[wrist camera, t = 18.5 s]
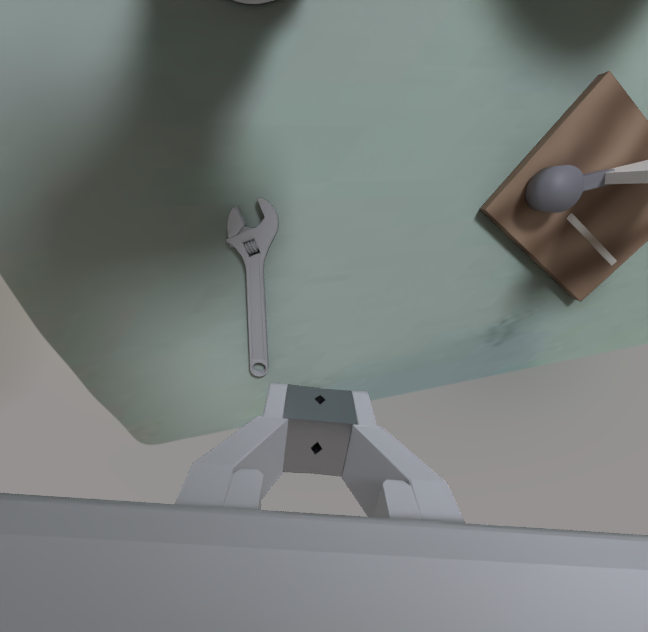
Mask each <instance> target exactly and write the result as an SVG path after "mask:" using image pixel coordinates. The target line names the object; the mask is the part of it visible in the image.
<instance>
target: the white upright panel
mask: <svg viewBox="0 0 648 632" xmlns="http://www.w3.org/2000/svg"><path fill="white" fill-rule="evenodd" d="M637 183H648V160H645V161H641V162H637V163H633V164H628V165H624V166H620V167H616V168H612V169H605V170H598V171H594V172H590V173H586V174H583V173H582V172H581V170H580V169H579V168H577V167H575V166H572V165H562V166H552V167H546V168H544V169H541V170H540V171H538V172H537V173H536V174H535V175H534V176H533V177H532V178H531V180H530V182H529V183H528V186H527V189H526V200H527V203H528V204H529V206H530V207H531V208H532V209H534V210H536V211H543V212H554V213H558V212H563V211H565V210H567V209H569V208H571V207H572V206H573V205H574V204H575V203H576V202H577V201H578V200H579V198H580V197H581V195H582V192H583V191H586V190H590V189H594V188H598V187H602V186H607V185H611V184H637Z"/></svg>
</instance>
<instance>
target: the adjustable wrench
mask: <svg viewBox="0 0 648 632" xmlns="http://www.w3.org/2000/svg"><path fill="white" fill-rule="evenodd" d="M257 200H258V203H259V205H260V207H261V210H262V212H263V214H264V217H265V218H264V219H263V220H262V222H261V223H260V225H259V226H258V227H255V228H249V227H246V226H245V224H246V223H245V221H244V219H243V216H242V214H241V212H240V210H239V208H238V207H234V208H232V210H231V212H230V214H229V217H228V222H227V231H228V237H229V238H228V239H226V241H227V242H228V243H229V245H230V247H231V248H233V247H235V248H236V249H237V251H238V252H239V253H240V255H241V256H242V258H243V260H244V262H245V266H246V277H247V303H248V328H249V353H250V371H251V373H252V374H253V375H255V376H258V377H261V376H264V375H265V374H266V373H267V371H268V366H269V364H268V344H267V324H266V304H265V284H264V261H265V257H266V255H267V252H268V249H269V247H270V244H271V242H272V240H273V238H274V237H275V235H276V233H277V230H278V225H279V219H278V215H277V212H276V210H275V209H274V207H273V206H272V205H271V204H270V202H269V201H267V200H265V199H264V198H257ZM252 240H253V241H252ZM249 241H250V242H249ZM246 242H248V243H246ZM258 249H259V251H260V252H259V253H256V254H254V255H250V254H252V253H255V251H256V252H258ZM255 363H262V364H264V365H265V369H264V370H263V371H258V370H256V369H255V368H254V365H255Z"/></svg>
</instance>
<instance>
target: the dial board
mask: <svg viewBox="0 0 648 632" xmlns="http://www.w3.org/2000/svg"><path fill="white" fill-rule="evenodd" d="M645 160H648V120H647V119H646V118H645V116H644V115H643V114H642V113H641V111H640V110H639V109H638V107H637V106H636V105H635V103H634V102H633V101H632V99H631V98H630V97H629V95H628V94H627V93H626V92H625V90H624V89H623V88H622V86H621V85H620V84H619V82H618V81H617V80H616V78H615V77H614V76H613V74H612V73H611V72H610V71H608V72H605V73H603V74H600V75H598V76H597V77H596V78H595V79H594V81H593V82H592V83H591V84H590V85H589V86H588V87H587V88H586V90H585V91H584V92H583V93H582V94H581V95H580V96H579V97H578V99H577V100H576V101H575V102H574V103H573V104H572V105H571V106H570V108H569V109H568V110H567V111H566V112H565V113H564V114H563V115H562V117H561V118H560V119H559V120H558V121H557V122H556V123H555V124H554V126H553V127H552V128H551V129H550V130H549V131H548V132H547V133H546V135H545V136H544V137H543V138H542V139H541V140H540V141H539V142H538V144H537V145H536V146H535V147H534V148H533V149H532V150H531V151H530V153H529V154H528V155H527V156H526V157H525V158H524V159H523V160H522V162H521V163H520V164H519V165H518V166H517V167H516V168H515V169H514V171H513V172H512V173H511V174H510V175H509V176H508V177H507V178H506V180H505V181H504V182H503V183H502V184H501V185H500V186H499V187H498V189H497V190H496V191H495V192H494V193H493V194H492V195H491V196H490V198H489V199H488V200H487V201H486V202H485V203H484V204H483V205H482V207H481V208H480V210H481V211H482V212H483V213H484V214H485V215H486V216H487V217H488V218H489V219H490V220H491V221H492V222H494V223H495V224H496V225H497V226H498V227H499V228H500V229H501V230H502V231H503V232H504V233H505V234H506V235H507V236H508V237H509V238H510V239H511V240H512V241H513V242H514V243H516V244H517V245H518V246H519V247H520V248H521V249H522V250H523V251H524V252H525V253H526V254H527V255H528V256H529V257H530V258H531V259H532V260H533V261H534V262H535V263H536V264H537V265H539V266H540V267H541V268H542V269H543V270H544V271H545V272H546V273H547V274H548V275H549V276H550V277H551V278H552V279H553V280H554V281H555V282H556V283H557V284H558V285H559V286H561V287H562V288H563V289H564V290H565V291H566V292H567V293H568V294H569V295H570V296H571V297H572V298H574V299H576V300H578V301H582V300H583V299H584V298H585V297H586V296H588V295H589V294H590V293H591V292H592V291H593V290H594V289H595V288H596V287H597V286H599V285H600V284H601V283H602V282H603V281H604V280H605V279H606V278H607V277H608V276H610V275H611V274H612V273H613V272H614V271H615V270H616V269H617V268H618V267H619V266H620V265H622V264H623V263H624V262H625V261H626V260H627V259H628V258H629V257H630V256H631V255H633V254H634V253H635V252H636V251H637V250H638V249H639V248H640V247H641V246H642V245H644V244H645V243H646V242H647V241H648V183H637V184H611V185H607V186H602V187H598V188H594V189H590V190H586V191H583V192H582V195H581V197H580V198H579V200H578V201H577V202H576V203H575V204H574V205H573V206H572V207H571V208H569V209H567V210H565V211H563V212H558V213H554V212H543V211H536V210H534V209H532V208H531V207H530V206H529V204H528V203H527V200H526V189H527V186H528V183H529V182H530V180H531V178H532V177H533V176H534V175H535V174H536V173H537V172H538V171H540V170H541V169H544V168H546V167H552V166H562V165H572V166H575V167H577V168H579V169H580V170H581V172H582V173H583V174H586V173H590V172H594V171H598V170H605V169H612V168H616V167H620V166H624V165H628V164H633V163H637V162H641V161H645Z"/></svg>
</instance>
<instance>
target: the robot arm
mask: <svg viewBox="0 0 648 632" xmlns="http://www.w3.org/2000/svg"><path fill="white" fill-rule="evenodd" d="M234 1H237V2H241V3H246V4H261V3H266V2H270V1H273V0H234ZM282 472H293V473H314V474H323V475H332V476H342V479H343V480H344V482H345V483H346V485H347V486H348V488H349V489H350V491H351V492H352V494H353V495H354V496H355V498H356V499H357V501H358V502H359V504H360V506H361V507H362V508H363V510H364V512H365V513H366V515H367V516H368V517H360V516H346V515H329V514H315V513H299V512H282V511H267V510H260V509H261V500H262V499H263V497H264V496H265V495H266V494H267V492H268V491H269V490H270V489H271V487H272V486H273V485H274V484H275V482H276V481H277V480H278V479H279V477H280V476H281V475H282ZM0 632H648V535H633V534H620V533H604V532H588V531H574V530H559V529H543V528H527V527H511V526H495V525H480V524H465V521H464V519H463V517H462V515H461V513H460V511H459V508H458V506H457V504H456V502H455V499H454V497H453V495H452V493H451V491H450V488H449V486H448V484H447V483H446V482H445V481H444V480H443V479H442V478H441V477H439V476H438V475H437V474H436V473H435V472H434V471H432V470H431V469H430V468H429V467H428V466H427V465H425V464H424V463H423V462H422V461H421V460H420V459H419V458H417V457H416V456H415V455H414V454H413V453H412V452H411V451H409V450H408V449H407V448H406V447H405V446H403V445H402V444H401V443H400V442H399V441H397V439H395V438H394V437H393V436H392V435H391V434H390V433H388V432H387V431H386V430H385V429H384V428H383V427H377V423H376V419H375V416H374V412H373V409H372V405H371V401H370V398H369V394H368V393H367V392H366V391H347V390H334V389H321V388H316V387H307V386H299V385H290V384H288V386H287V384H281V383H271V384H270V386H269V390H268V395H267V399H266V403H265V408H264V412H263V416H257V417H256V418H254V419H253V420H252V421H250V422H249V423H247V424H246V425H245V426H243V427H242V428H241V429H239V430H238V431H237V432H235V433H234V434H232V435H231V436H230V437H228V438H227V439H225V440H224V441H223V442H221V443H220V444H219V445H217V446H216V447H215V448H213V449H212V450H210V451H209V452H208V453H206V454H205V455H203V456H202V457H201V458H200V459H198V460H197V461H195V462H194V463H193V464H192V466H191V469H190V471H189V473H188V475H187V477H186V480H185V482H184V484H183V486H182V489H181V491H180V493H179V495H178V497H177V500H176V502H175V504H160V503H146V502H130V501H115V500H99V499H85V498H70V497H54V496H38V495H24V494H9V493H0Z"/></svg>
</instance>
